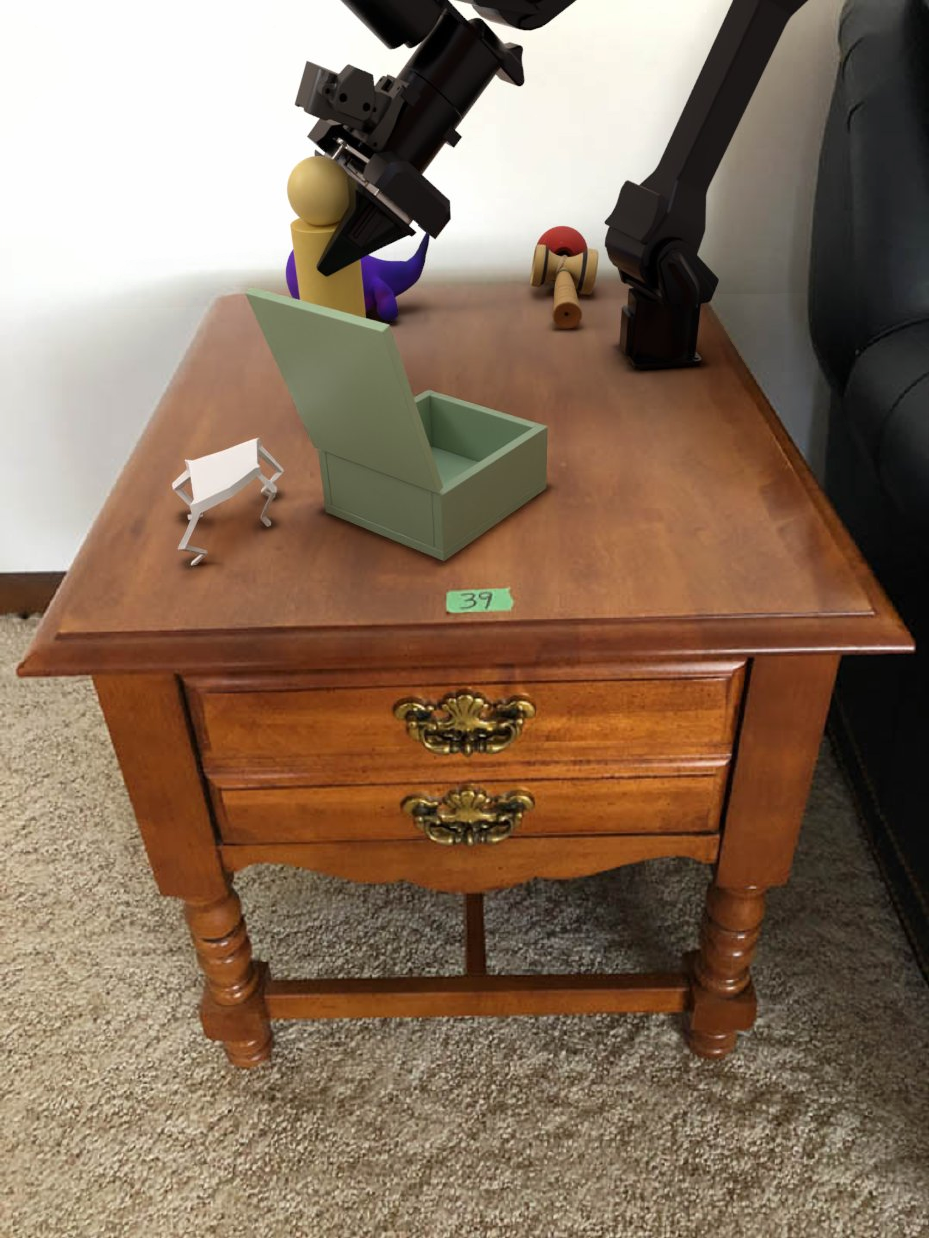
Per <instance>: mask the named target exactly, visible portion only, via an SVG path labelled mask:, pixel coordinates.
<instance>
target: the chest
mask: <svg viewBox="0 0 929 1238" xmlns="http://www.w3.org/2000/svg"><path fill="white" fill-rule="evenodd" d="M413 397H414V400H415V403H416V406H417V409H418V412H419V415H420V418H421V421H422V424H423V427H424V430H425V433H426V436H427V439H428V442H429V445H430V448H431V451H432V454H433V457H434V460H435V463H436V466H437V469H438V472H439V475H440V478H441V481H442V484H443V488H442V489H441V490H440V491H439V492H438V493H435V492H432V491H429V490H427V489H424V488H421V487H419V486H416V485H413V484H411V483H408V482H405V481H403V480H400V479H397V478H395V477H392V476H389V475H387V474H384V473H381V472H379V471H376V470H373V469H371V468H368V467H365V466H363V465H360V464H357V463H355V462H352V461H349V460H347V459H344V458H341V457H339V456H336V455H333V454H331V453H328V452H325V451H323V450H320V449H317V454H318V462H319V469H320V479H321V486H322V494H323V502H324V509H325V512H326V514H329V515H332V516H334V517H337V518H339V519H341V520H344V521H346V522H349V523H351V524H353V525H356V526H358V527H361V528H363V529H366V530H368V531H371V532H373V533H375V534H377V535H379V536H383V537H385V538H387V539H389V540H392V541H394V542H397V543H399V544H402V545H404V546H406V547H409V548H412V549H413V550H416V551H418V552H421V553H423V554H425V555H428V556H430V557H432V558H435V559H437V560H440V561H442V562H445V561H447V560H448V559H450V558H451V557H452V556H454V555H455V554H457V553H458V552H460V551H461V550H462V549H463V548H465V547H466V546H468V545H469V544H471V543H472V542H474V541H475V540H476V539H478V538H479V537H480V536H482V535H483V534H485V533H486V532H487V531H489V530H490V529H492V528H493V527H494V526H496V525H498V524H499V523H500V522H501V521H503V520H504V519H505V518H507V517H508V516H510V515H511V514H513V513H514V512H516V511H517V510H518V509H519V508H521V507H523V506H524V505H525V504H527V503H528V502H530V501H531V500H533V499H534V498H535V497H536V496H538V495H539V494H541V493H543V492H544V490H546V489H547V479H548V477H547V476H548V475H547V474H548V473H547V472H548V433H549V432H548V428H549V427H548V426H547V425H544V424H541V423H537V422H536V421H535V422H534V421H531V420H529V419H525V418H522V417H518V416H516V415H512V414H508V413H505V412H502V411H499V410H496V409H492V408H489V407H486V406H484V405H483V406H482V405H479V404H476V403H474V402H470V401H466V400H464V399H460V398H457V397H454V396H451V395H447V394H444V393H441V392H438V391H434V390H431V389H427V390H424V391H423V392H421V393H419V394H417V395H416V396H413Z"/></svg>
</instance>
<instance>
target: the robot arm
mask: <svg viewBox="0 0 929 1238" xmlns="http://www.w3.org/2000/svg"><path fill="white" fill-rule="evenodd" d="M455 1H456V2H460V3H463V4H468V5H471V7H472V9H473V10H474V12H476V13H477V14H478V15H479V16H480V17H473V18H470V19H467V18H466V17H464V15H463V14H462V13H461V12H460V11H459V10H458V8H456V7H455V6H454V5H453V3H452V2H451V1H450V0H340V2H341V3H342V4H343V5H344V6H346V8H347V9H348V10H349V11H351V13H352V14H353V15H354V16H355V17H356V18H357V19H358V20H359V21H360V23H362V24H363V25H364V26H365V27H366V28H367V29H368V30H369V31H370V32H371V33H372V34H373V35H374V36H375V37H376V38H377V39H378V40H379V41H380V42H381V43H382V44H383V45H384V46H385V47H386V48H387V49H388V50H390V51H391V50H395V49H398V48H400V47H401V46H403V45H404V46H405V47H406V48H407V49H414V48H416V47H417V48H416V49H415V50H414V51H413V53H412V54H411V56H410V58H409V59H408V60H407V62H406V63H405V65H404V66H403V67H402V68H401V70H400V71H399V73H398V74H397V75H396V77H395V76H393V75H391V74H387V75H382V76H381V77H379V79H378V81H376V83H375V78H374V74H372V73H371V72H368V71H367V70H363V69H360V68H358V67H356V66H354V65H352V64H350V63H348V64H346V65H345V66H344V67H343V69H342V70H341V71H340V72H339V73H338V72H336V71H333V70H331V69H328V68H327V67H324V66H321V65H319V64H317V63H314V62H312V61H309V60H306V62H305V65H304V68H303V72H302V76H301V78H300V79H301V80H300V83H299V87H298V89H297V94H296V98H295V101H294V106H296V107H297V108H302V109H303V112H305V113H306V114H308V115H310V116H312V117H315V118H317V119H318V120H317V121H316V122H315V124H314V126H313V127H312V128H311V130H310V131H309V133H308V134H307V139H308V140H309V141H311V143H313V144H314V145H315V146H317V147H318V148H319V149H320V150H321V151H322V152H323V154H322V153H321V152H320V151H319V150H317V149H314V152H313V153H314V156H324V157H328V158H330V159H333V160H334V161H336V162H337V163H339V164H340V165H341V166H342V167H343V168H344V169H345V171H346V172H347V174H348V176H347V181H348V195H349V205H348V207H347V209H346V211H345V213H344V215H343V217H342V218H341V220H340V222H339V224H338V226H337V228H336V229H335V231H334V233H333V235H332V237H331V238H330V240H329V242H328V244H327V246H326V248H325V249H324V251H323V253H322V255H321V258H320V260H319V262H318V264H317V266H316V268H317V270H318V271H319V272H320V273H322V274H323V275H324V276H326V277H328V276H330V275H332V274H334V273H336V272H337V271H339V270H341V269H343V268H345V267H347V266H348V265H350V264H352V263H354V262H356V261H358V260H360V259H361V258H363V257H365V256H367V255H371V254H373V253H374V252H378V251H379V250H382V249H383V248H385V247H387V246H389V245H391V244H393V243H395V242H397V241H400V240H402V239H404V238H406V237H409V236H410V237H411V238H412V237H414V236H415V235H416V234H417V233H418V232H417V231H416V230H415V229H414V228H413V227H411V224H412V223H413V222H415V223H416V224H417V227H418V228H420V229H421V230H422V231H423V232H425V234H426V233H427V234H428V235H430V238H432V239H434V240H436V239H437V238H438V237H439V235H440V234H441V233H442V232H443V230H444V229H445V227H446V226H447V225H448V223H449V222H451V219H452V215H451V213H452V211H451V200H450V199H449V198H448V197H447V196H446V195H445V194H443V192H441V191H440V190H439V189H438V188H437V187H436V186H435V185H434V184H433V182H431V181H429V179H428V178H426V177H425V176H424V175H423V174H424V173H425V172H426V170H427V169H428V168H429V166H431V164H432V163H433V161H434V159H435V158H436V157H437V155H438V154H440V153H439V152H440V151H441V150H442V149H443V148H444V146H445V144H446V145H448V146H449V147H452V148H453V149H454V148H456V146H457V145H458V143H459V142H460V141H461V139H462V138H463V136H462V135H461V134H460V132H458V131H457V129H458V127H459V125H460V124H461V123H462V121H463V120H464V119H465V117H466V116H467V115H468V113H469V112H470V110H471V109H472V108H473V107H474V105H475V104H476V103H477V101H478V100H479V98H480V97H481V96H482V94H483V93H484V91H485V90H486V89H487V87H489V85H490V83H491V82H492V81H493V80H494V78H495V76H496V77H497V78H498V79H499V80H501V81H502V82H506V83H508V84H511V85H514V86H516V87H523V85H524V84H525V81H526V79H525V71H524V64H523V54H524V46H522V45H521V44H517V43H515V42H511V41H509V42H506V43H504V42H503V40H501V38H500V37H499V36H498V35H497V34H496V33H495V32H494V30H493V29H492V28H491V27H490V26H489V25H488V24H487V23H486V22H485V20H487V21H489V22H491V23H494V24H498V25H502V26H504V27H509V28H513V29H516V30H520V31H529V32H531V31H534V30H537V29H540V28H543V27H545V26H546V25H547V24H549V23H550V22H552V21H553V20H554V19H555V18H556V17H558V16H559V15H561V14H562V13H563V12H564V11H565V10H567V9H568V8H569V7H570V6H571V5H573V4H574V3H576V1H577V0H455ZM809 1H810V0H732V1H731V4H730V6H729V8H728V10H727V12H726V14H725V16H724V19H723V20H722V23H721V26H720V28H719V30H718V32H717V35H716V37H715V39H714V40H713V43H712V44H711V48H710V49H709V51H708V55H707V57H705V60H704V63H703V65H702V67H701V69H700V72H699V73H698V76H697V79H696V80H695V83H694V85H693V87H692V89H691V91H690V94H689V96H688V98H687V100H686V102H685V104H684V106H683V109H682V111H681V113H680V116H679V117H678V120H677V122H676V125H675V127H674V129H673V131H672V134H671V136H670V138H669V140H668V142H667V145H666V147H665V149H664V151H663V153H662V155H661V157H660V160H659V162H658V164H657V166H656V168H655V169H654V170H653V171H652V172H651V174H649V175H648V176H647V177H646V178H645V179H644V180H643V181H642V182H640V184H637V183H635V182H633V181H631V180H628V179H626V180H625V181H624V183H623V184H622V186H621V188H620V190H619V194H618V196H617V201H616V203H615V206H614V208H613V209H612V211H611V213H610V214H609V216H608V217H606V219H605V220H604V223H603V224H604V225H606V226H607V227H608V228H607V231H606V235H605V238H604V247H605V249H606V254H607V257H608V260H609V262H611V264H612V265H613V266H614V267H616V269H617V272H618V275H619V279H620V281H621V283H623V284H625V285H628V286H629V288H628V289H627V290H628V292H627V304H625V305H622V307H621V311H620V329H619V343H618V344H619V348H620V349H621V351H622V353H623V355H624V356H625V357H627V359H628V361H629V363H631V366H632V368H633V369H636V370H648V369H660V368H673V367H687V366H698V365H701V364H702V357H701V356H700V355H699V354H698V352H697V347H698V335H699V327H700V318H701V309H702V305H703V304H708V303H710V302H712V300H713V297H714V294H715V292H716V290H717V287H718V284H719V282H720V279H719V277H718V276H717V275H716V274H715V272H713V270H711V268H710V267H709V266H708V265H707V264H706V263H705V262H704V261H703V260H702V259H701V257H700V256H699V255H698V254H699V251H700V248H701V245H702V242H703V239H704V236H705V233H706V227H707V196H708V195H707V194H708V191H709V188H710V186H711V184H712V182H713V180H714V178H715V176H716V173H717V171H718V169H719V167H720V166H721V163H722V161H723V159H724V157H725V155H726V153H727V150H728V148H729V146H730V144H731V142H732V141H733V138H734V136H735V134H736V131H737V130H738V127H739V125H740V123H741V121H742V119H743V117H744V115H745V113H746V110H747V109H748V106H749V105H750V103H751V100H752V98H753V96H754V94H755V92H756V90H757V88H758V86H759V84H760V81H761V79H762V77H763V75H764V73H765V71H766V68H767V67H768V65H769V62H770V60H771V59H772V56H773V54H774V52H775V50H776V48H777V45H778V44H779V41H780V40H781V37H782V35H783V33H784V31H785V29H786V28H787V25H788V23H789V21H790V20H791V18H792V17H793V16H794V15H795V14H796V13H797V12H798V11H799V10H800V9H802V7H804V6H805V5H806V4H807V3H808V2H809ZM482 18H483V19H482Z"/></svg>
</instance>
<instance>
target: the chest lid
mask: <svg viewBox="0 0 929 1238" xmlns="http://www.w3.org/2000/svg"><path fill="white" fill-rule="evenodd" d="M244 294H245V297H246V299H247V301H248V303H249V306H250V307H251V310H252V313H253V314H254V316H255V319H256V321H257V323H258V325H259V328H260V330H261V332H262V334H263V337H264V339H265V341H266V344H267V346H268V348H269V350H270V352H271V355H272V357H273V359H274V362H275V364H276V366H277V368H278V371H279V373H280V375H281V377H282V379H283V382H284V383H285V386H286V388H287V391H288V393H289V395H290V398H291V399H292V401H293V403H294V406H295V408H296V410H297V413H298V415H299V417H300V419H301V422H302V424H303V426H304V428H305V431H306V433H307V435H308V437H309V439H310V442H311V444H312V446H313V448H315V449H317V450H318V449H320V450H323V451H325V452H328V453H331V454H333V455H336V456H339V457H341V458H344V459H347V460H349V461H352V462H355V463H357V464H360V465H363V466H365V467H368V468H371V469H373V470H376V471H379V472H381V473H384V474H387V475H389V476H392V477H395V478H397V479H400V480H403V481H405V482H408V483H411V484H413V485H416V486H419V487H421V488H424V489H427V490H429V491H432V492H435V493H438V492H439V491H440V490H441V489H442V488H443V484H442V481H441V478H440V475H439V472H438V469H437V466H436V463H435V460H434V457H433V454H432V451H431V448H430V445H429V442H428V439H427V436H426V433H425V430H424V427H423V424H422V421H421V418H420V415H419V412H418V409H417V406H416V403H415V400H414V397H415V396H414V394H413V391H412V388H411V385H410V383H409V382H410V381H409V379H408V376H407V373H406V369H405V367H404V363H403V360H402V357H401V354H400V352H399V349H398V346H397V343H396V340H395V336H394V333H393V330H392V327H391V325H390V324H388V323H385V322H382V321H378V320H374V319H370V318H367V317H366V318H363V317H360V316H356V315H352V314H349V313H345V312H341V311H338V310H334V309H331V308H327V307H323V306H320V305H316V304H312V303H309V302H305V301H301V300H298V299H294V298H292V297H291V296H286V295H284V294H283V295H282V294H280V293H275V292H272V291H268V290H265V289H261V288H258V287H254V286H251V287H250V288H248V290H246V292H245V293H244Z"/></svg>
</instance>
